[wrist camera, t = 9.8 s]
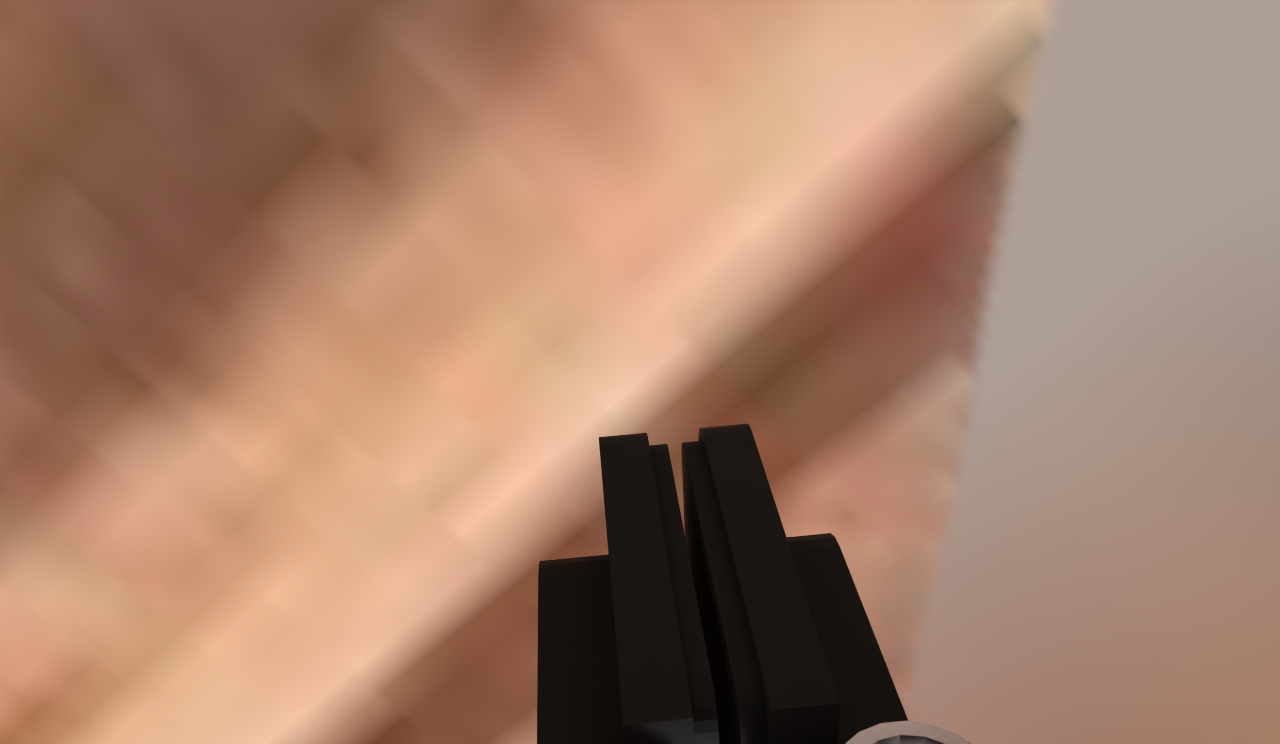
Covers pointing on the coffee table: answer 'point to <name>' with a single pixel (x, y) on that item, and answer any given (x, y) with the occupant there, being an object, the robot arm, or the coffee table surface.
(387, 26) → the coffee table surface
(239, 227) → the coffee table surface
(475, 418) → the coffee table surface
